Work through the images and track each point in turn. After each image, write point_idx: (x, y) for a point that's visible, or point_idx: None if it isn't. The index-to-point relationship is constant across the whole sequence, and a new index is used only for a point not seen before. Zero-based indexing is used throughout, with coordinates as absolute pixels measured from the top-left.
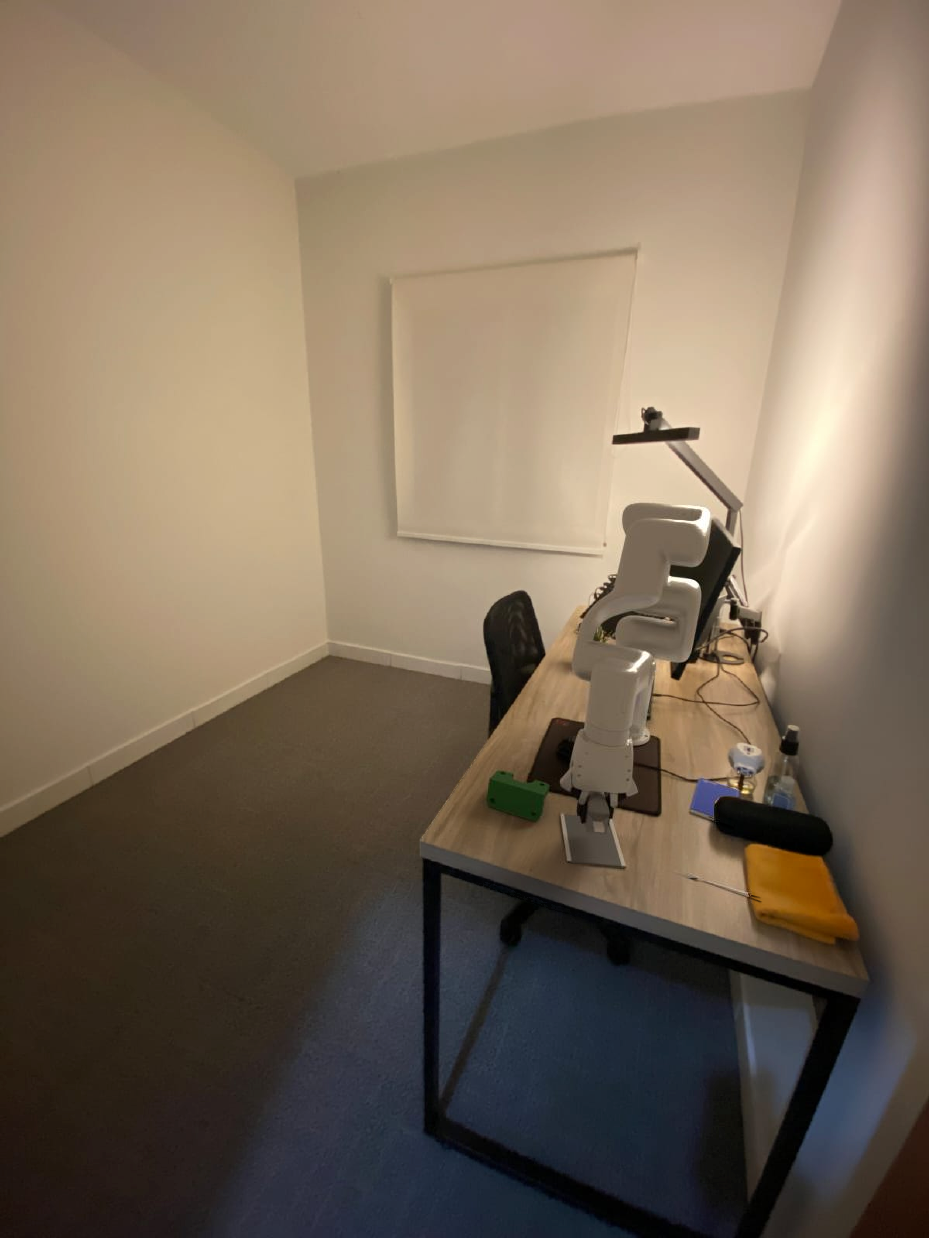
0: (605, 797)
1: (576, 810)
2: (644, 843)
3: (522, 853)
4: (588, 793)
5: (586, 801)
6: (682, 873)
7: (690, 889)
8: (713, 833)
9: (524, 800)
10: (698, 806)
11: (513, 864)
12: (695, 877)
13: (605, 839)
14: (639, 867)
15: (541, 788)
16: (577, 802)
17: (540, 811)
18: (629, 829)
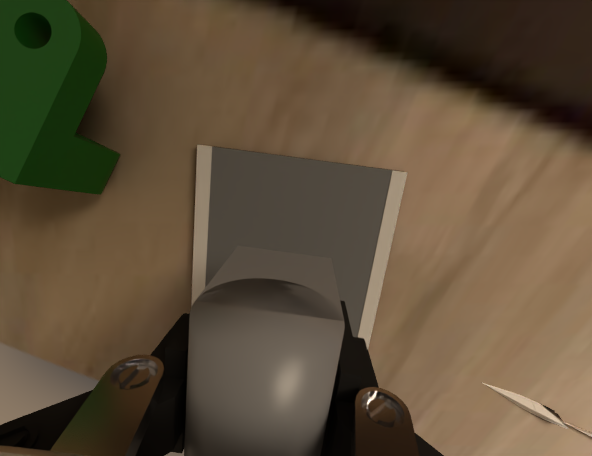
0: (339, 379)
1: (184, 314)
2: (472, 289)
3: (65, 317)
4: (190, 416)
5: (177, 439)
6: (521, 404)
7: (508, 442)
8: None
9: None
10: None
11: (42, 352)
12: (551, 420)
13: (337, 281)
14: (402, 375)
15: (16, 93)
16: (161, 342)
17: (81, 191)
18: (453, 223)
